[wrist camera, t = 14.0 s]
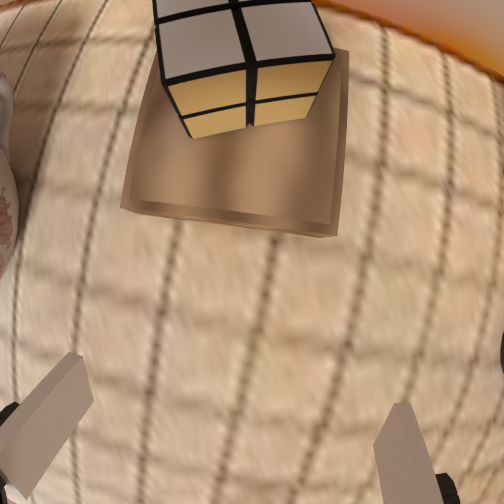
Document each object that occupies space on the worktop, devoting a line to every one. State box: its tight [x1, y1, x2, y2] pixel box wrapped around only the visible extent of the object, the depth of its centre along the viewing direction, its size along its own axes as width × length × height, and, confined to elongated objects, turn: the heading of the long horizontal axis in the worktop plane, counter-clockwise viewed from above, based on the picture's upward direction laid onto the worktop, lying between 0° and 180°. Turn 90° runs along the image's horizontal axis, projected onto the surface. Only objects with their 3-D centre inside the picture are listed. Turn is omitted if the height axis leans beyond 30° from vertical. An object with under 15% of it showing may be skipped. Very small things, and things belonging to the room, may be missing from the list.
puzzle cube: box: [152, 0, 336, 139], centre depth 20 cm, size 10×10×10 cm
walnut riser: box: [120, 48, 349, 238], centre depth 28 cm, size 18×18×6 cm
